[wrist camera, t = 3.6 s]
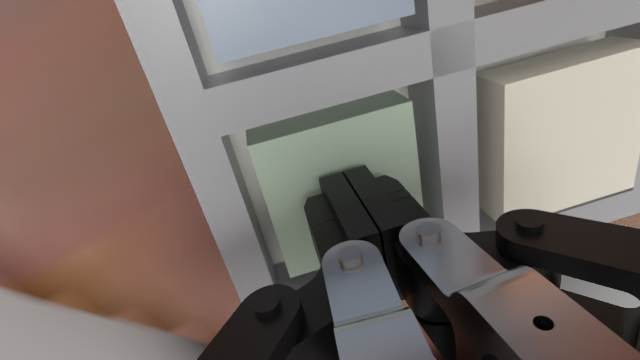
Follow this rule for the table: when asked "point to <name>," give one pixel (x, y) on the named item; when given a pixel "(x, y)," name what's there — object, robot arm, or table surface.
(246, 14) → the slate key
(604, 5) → the keypad
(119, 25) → the table surface
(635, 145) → the cream key
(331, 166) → the sage key
